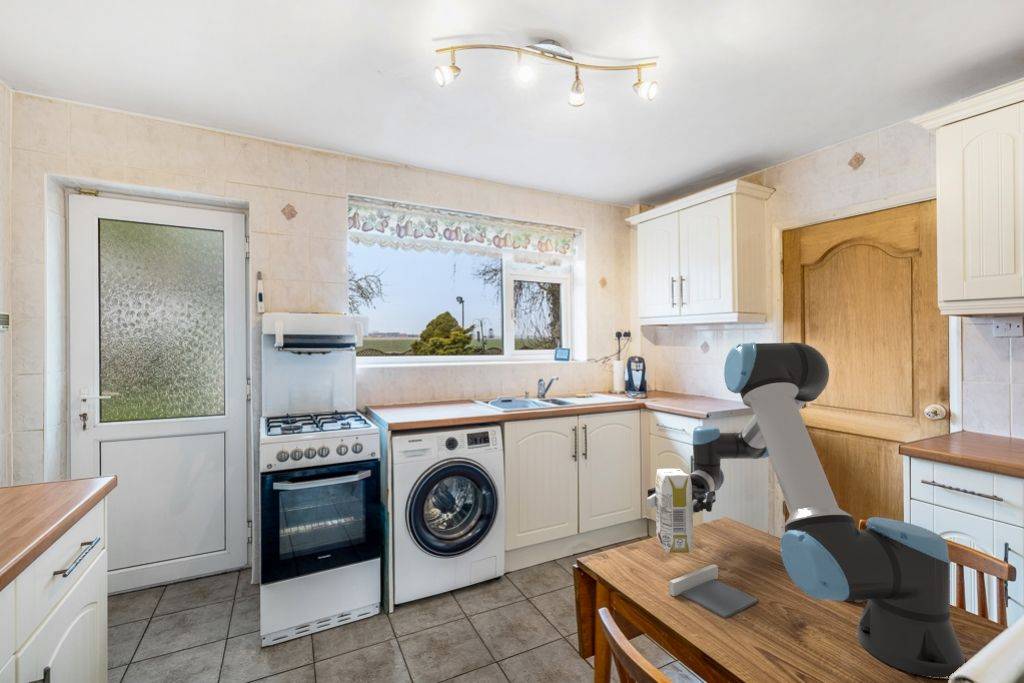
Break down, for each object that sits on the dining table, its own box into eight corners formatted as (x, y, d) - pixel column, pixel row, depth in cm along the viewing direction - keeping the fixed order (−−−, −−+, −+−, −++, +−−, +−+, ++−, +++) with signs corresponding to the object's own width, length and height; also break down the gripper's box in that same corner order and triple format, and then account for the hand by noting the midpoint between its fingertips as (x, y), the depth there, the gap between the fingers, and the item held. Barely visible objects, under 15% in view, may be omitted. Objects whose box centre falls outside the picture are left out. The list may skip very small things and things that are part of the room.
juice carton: (665, 554, 115) (663, 476, 115) (654, 540, 123) (653, 467, 124) (695, 554, 115) (694, 476, 115) (682, 540, 123) (681, 467, 124)
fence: (718, 578, 115) (717, 565, 115) (673, 596, 107) (673, 583, 107) (713, 576, 116) (713, 563, 116) (669, 594, 108) (669, 581, 108)
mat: (758, 601, 104) (758, 599, 104) (724, 618, 98) (724, 616, 98) (714, 581, 114) (714, 578, 114) (681, 594, 108) (681, 592, 108)
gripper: (738, 508, 126) (713, 533, 109) (659, 493, 140) (626, 514, 122) (737, 480, 127) (712, 501, 109) (658, 468, 140) (625, 485, 123)
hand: (667, 508), depth 116 cm, fingers closed on juice carton, 9 cm apart
